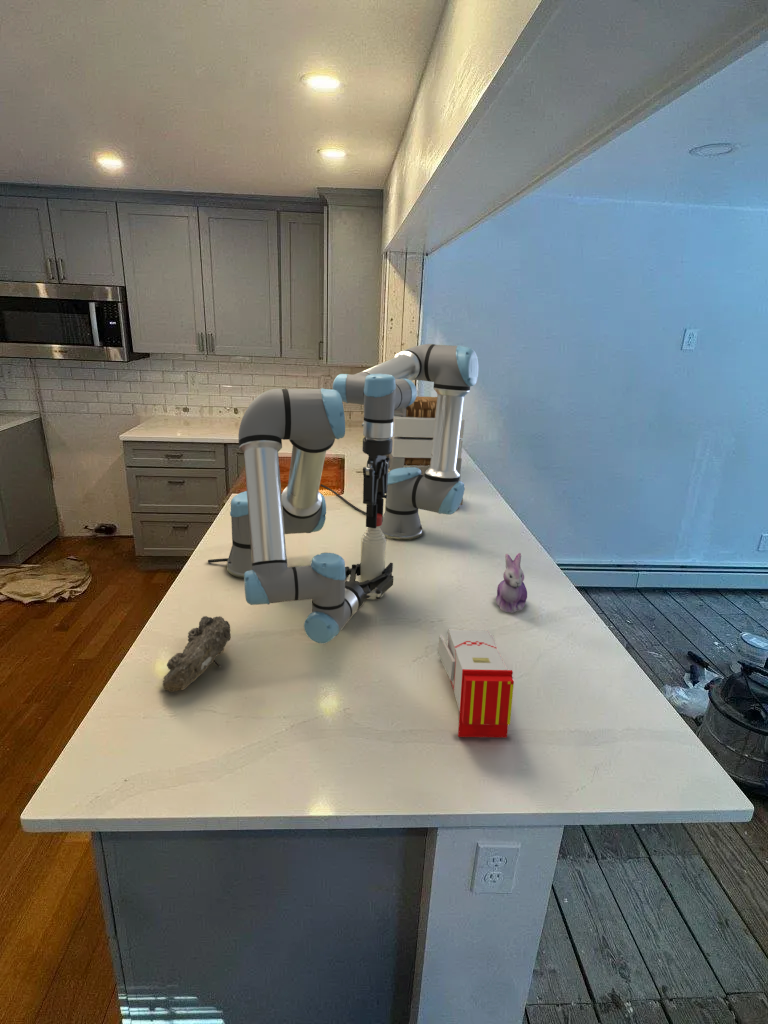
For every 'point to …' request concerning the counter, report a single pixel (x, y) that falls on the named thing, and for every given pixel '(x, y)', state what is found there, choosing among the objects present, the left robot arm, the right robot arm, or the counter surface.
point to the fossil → (197, 653)
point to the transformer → (416, 435)
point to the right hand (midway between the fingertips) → (374, 524)
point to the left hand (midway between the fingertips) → (379, 564)
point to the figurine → (512, 586)
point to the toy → (478, 682)
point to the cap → (379, 519)
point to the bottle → (372, 555)
